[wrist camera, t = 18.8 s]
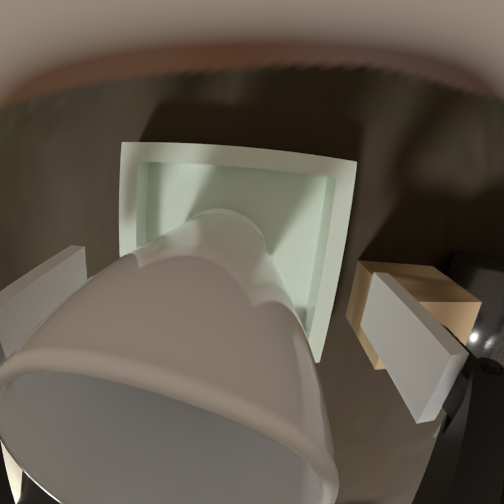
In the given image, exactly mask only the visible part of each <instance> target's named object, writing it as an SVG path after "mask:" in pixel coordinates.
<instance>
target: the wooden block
mask: <svg viewBox="0 0 504 504" xmlns="http://www.w3.org/2000/svg"><path fill="white" fill-rule="evenodd" d="M373 272H380V273H388V274H390V275H391V276H392V277H393V278H394V279H395V280H396V281H397V282H398V283H399V284H400V285H401V286H402V287H403V288H405V289H406V290H407V291H408V292H409V293H410V294H411V295H412V296H413V297H414V298H415V299H416V300H417V301H418V302H419V303H420V304H421V305H422V306H423V307H424V308H425V309H426V310H427V311H428V312H429V313H430V314H431V315H432V316H433V317H434V318H435V319H436V320H437V321H438V322H439V323H441V324H442V325H444V326H446V327H447V328H448V329H449V330H450V331H451V332H452V333H453V334H454V335H455V336H456V337H457V338H458V339H459V340H460V342H462V343H463V344H464V345H465V346H466V343H467V341H468V338H469V336H470V333H471V331H472V328H473V325H474V323H475V320H476V317H477V315H478V312H479V309H480V306H481V303H482V302H481V301H480V300H479V299H477V298H476V297H475V296H473V295H472V294H471V293H469V292H468V291H467V290H465V289H464V288H462V287H461V286H460V285H458V284H457V283H456V282H454V281H453V280H451V279H450V278H449V277H447V276H446V275H444V274H443V273H442V272H440V271H439V270H437V269H436V268H434V267H433V266H424V265H412V264H399V263H386V262H374V261H361V260H358V261H357V266H356V271H355V276H354V281H353V285H352V290H351V295H350V299H349V304H348V308H347V312H346V318H347V320H348V321H349V323H350V325H351V327H352V328H353V330H354V332H355V334H356V336H357V337H358V339H359V341H360V343H361V345H362V346H363V348H364V350H365V352H366V354H367V356H368V357H369V359H370V361H371V363H372V365H373V367H374V368H375V369H386V368H385V366H384V364H383V363H382V361H381V359H380V358H379V356H378V354H377V352H376V351H375V349H374V347H373V346H372V344H371V342H370V341H369V339H368V337H367V336H366V334H365V332H364V331H363V329H362V327H361V326H360V324H361V321H362V317H363V313H364V309H365V305H366V301H367V297H368V293H369V289H370V285H371V281H372V277H373Z"/></svg>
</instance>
